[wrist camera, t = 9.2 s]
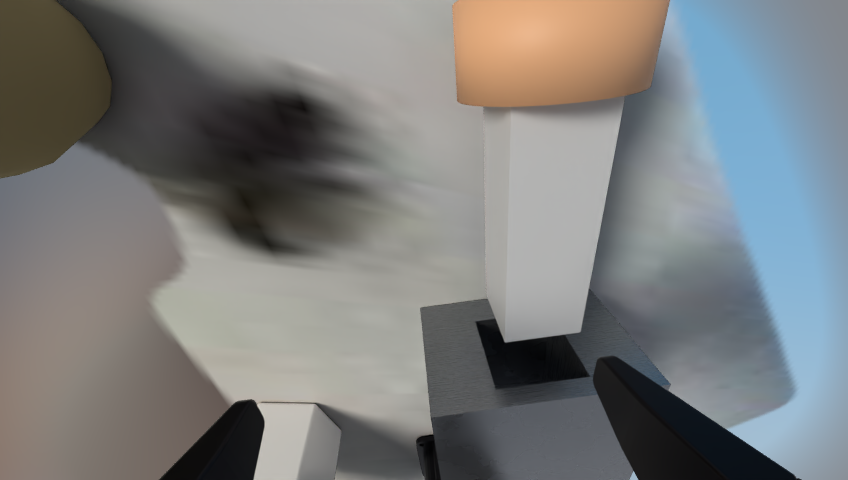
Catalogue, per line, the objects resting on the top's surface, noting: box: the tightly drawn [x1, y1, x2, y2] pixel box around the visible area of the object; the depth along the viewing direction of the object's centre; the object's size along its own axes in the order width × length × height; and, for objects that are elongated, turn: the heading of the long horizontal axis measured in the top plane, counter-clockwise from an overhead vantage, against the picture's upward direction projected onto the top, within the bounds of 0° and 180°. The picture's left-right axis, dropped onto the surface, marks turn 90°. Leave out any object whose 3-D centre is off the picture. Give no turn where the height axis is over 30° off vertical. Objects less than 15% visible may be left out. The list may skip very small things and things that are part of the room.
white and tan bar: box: [452, 0, 670, 343], centre depth 14 cm, size 14×7×7 cm, turn 6°
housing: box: [420, 289, 671, 480], centre depth 22 cm, size 10×12×8 cm
